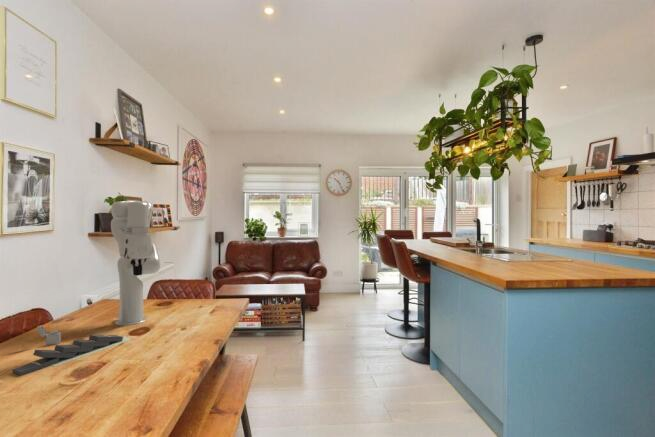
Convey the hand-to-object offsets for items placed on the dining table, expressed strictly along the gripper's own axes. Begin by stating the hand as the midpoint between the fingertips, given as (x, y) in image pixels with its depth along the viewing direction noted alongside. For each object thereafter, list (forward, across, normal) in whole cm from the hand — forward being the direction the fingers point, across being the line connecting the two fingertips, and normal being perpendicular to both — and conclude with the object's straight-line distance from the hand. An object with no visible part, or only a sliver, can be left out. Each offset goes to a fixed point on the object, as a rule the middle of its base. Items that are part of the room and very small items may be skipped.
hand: (137, 274), depth 139 cm
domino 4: (+24, -13, 0) cm, 27 cm away
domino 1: (+24, -30, 0) cm, 38 cm away
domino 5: (+24, -8, 0) cm, 25 cm away
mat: (+25, -18, +1) cm, 31 cm away
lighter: (+25, -22, +20) cm, 39 cm away
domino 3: (+24, -19, 0) cm, 30 cm away
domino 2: (+24, -25, 0) cm, 35 cm away
